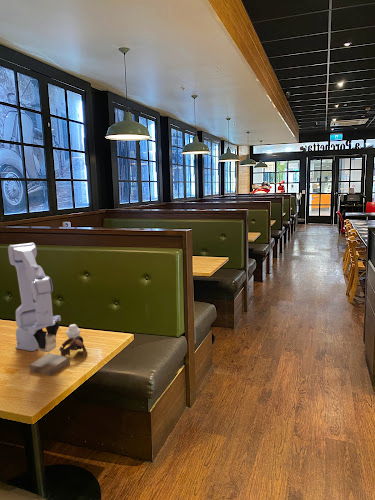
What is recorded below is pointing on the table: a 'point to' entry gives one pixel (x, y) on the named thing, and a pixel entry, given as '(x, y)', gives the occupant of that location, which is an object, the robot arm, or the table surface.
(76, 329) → the white rounded piece
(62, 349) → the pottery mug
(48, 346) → the maple cube
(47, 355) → the grey flat square block
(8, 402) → the table surface
